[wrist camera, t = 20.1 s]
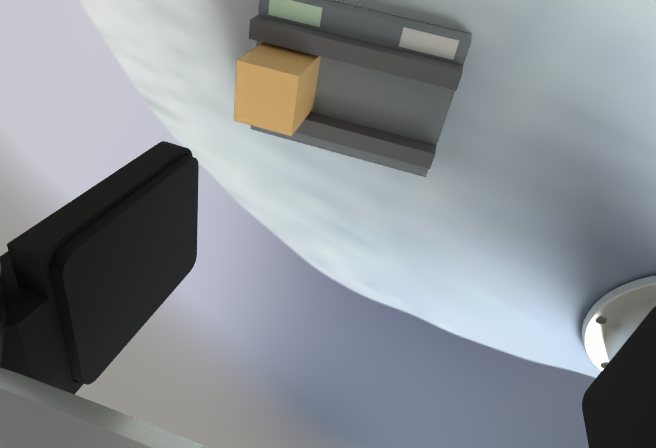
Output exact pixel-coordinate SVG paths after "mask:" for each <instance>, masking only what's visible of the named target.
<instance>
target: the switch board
mask: <svg viewBox="0 0 656 448" xmlns="http://www.w3.org/2000/svg"><path fill="white" fill-rule="evenodd" d="M249 39H253V40H257V46H258V45H260V44H261V43H263V42H265V43H269V44H273V45H277V46H281V47H285V48H289V49H293V50H297V51H301V52H305V53H309V54H313V55H317V56H320V57H321V59H320V65H319V72H318V79H317V85H316V92H315V98H314V105H313V109H312V110H311V112H310V113H309V114H308V116H307V117H306V118H305V119H304V121H303V122H302V123H301V125H300V126H299V127H298V128H297V130H296V131H295V132H294V133H293V135H292V136H289V135H285V134H281V133H278V132H274V131H270V130H267V129H263V128H259V127H256V126H252V125H251V129H253V130H256V131H260V132H264V133H267V134H271V135H274V136H278V137H282V138H285V139H289V140H293V141H296V142H300V143H304V144H307V145H311V146H315V147H318V148H322V149H325V150H329V151H333V152H336V153H340V154H344V155H347V156H351V157H355V158H358V159H362V160H365V161H369V162H373V163H376V164H380V165H384V166H387V167H391V168H395V169H398V170H402V171H405V172H409V173H413V174H416V175H420V176H424V177H426V175H427V172H428V169H430V167H431V164H432V161H433V158H434V155H435V150H436V145H437V142H438V139H439V136H440V133H441V130H442V127H443V124H444V121H445V118H446V115H447V112H448V109H449V106H450V103H451V100H452V97H453V94H454V91H456V89H457V87H458V84H459V81H460V78H461V75H462V71H463V64H464V61H465V58H466V55H467V52H468V49H469V46H470V43H471V34H470V33H465V32H461V31H457V30H453V29H448V28H444V27H440V26H436V25H432V24H427V23H423V22H419V21H415V20H411V19H406V18H402V17H398V16H394V15H389V14H385V13H381V12H377V11H373V10H368V9H364V8H360V7H356V6H352V5H347V4H343V3H339V2H335V1H331V0H260V5H259V15H258V16H256V17H254V18H252V19H251V20H250V32H249Z"/></svg>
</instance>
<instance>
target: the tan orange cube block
mask: <svg viewBox="0 0 656 448" xmlns="http://www.w3.org/2000/svg"><path fill="white" fill-rule="evenodd" d="M320 59H321V57H320V56H317V55H313V54H309V53H305V52H301V51H297V50H293V49H289V48H285V47H281V46H277V45H273V44H269V43H265V42H263V43H261V44H260V45H258V46H257V47H255V48H254V49H253V50H251V51H250V52H248V53H247V54H245V55H244V56H242V57H241V58H239V59H238V60H237V65H236V87H235V108H234V121H238V122H241V123H245V124H248V125H252V126H256V127H259V128H263V129H267V130H270V131H274V132H278V133H281V134H285V135H289V136H292V135H293V133H294V132H295V131H296V130H297V128H298V127H299V126H300V125H301V123H302V122H303V121H304V119H305V118H306V117H307V116H308V114H309V113H310V112H311V110H312V109H313V105H314V98H315V92H316V85H317V79H318V72H319V65H320Z"/></svg>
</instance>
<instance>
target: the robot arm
mask: <svg viewBox="0 0 656 448" xmlns="http://www.w3.org/2000/svg"><path fill="white" fill-rule="evenodd" d="M197 212H198V161H197V159H196V158H194V157H192V153H191V151H190V150H189V149H188V148H184V147H181V146H178V145H175V144H172V143H168V142H164V141H163V142H160V143H158V144H157V145H155V146H154V147H152V148H151V149H149V150H148V151H146V152H145V153H143V154H142V155H140V156H139V157H137V158H136V159H134V160H133V161H131V162H130V163H128V164H127V165H125V166H124V167H122V168H121V169H119V170H118V171H116V172H115V173H113V174H112V175H110V176H109V177H107V178H106V179H104V180H103V181H101V182H100V183H98V184H97V185H96V186H94V187H92V188H91V189H89V190H88V191H86V192H85V193H83V194H82V195H80V196H79V197H77V198H76V199H74V200H73V201H71V202H70V203H68V204H67V205H65V206H64V207H62V208H61V209H59V210H58V211H56V212H54V213H53V214H51V215H50V216H49V217H47V218H45V219H44V220H42V221H41V222H40V223H38V224H37V225H35V226H33V227H32V228H30V229H29V230H27V231H26V232H24V233H23V234H21V235H20V236H18V237H17V238H15V239H14V240H13V241H11V242H9V243H8V244H7V247H8V250H9V251H8V252H6V253H5V254H3V255H2V256H0V448H208V447H206V446H203V445H201V444H198V443H196V442H193V441H191V440H188V439H186V438H183V437H181V436H178V435H176V434H173V433H171V432H168V431H166V430H163V429H161V428H158V427H155V426H153V425H151V424H148V423H146V422H143V421H140V420H138V419H135V418H133V417H131V416H128V415H125V414H123V413H121V412H118V411H116V410H113V409H110V408H108V407H105V406H103V405H100V404H97V403H95V402H92V401H90V400H87V399H84V398H82V397H79V396H77V395H74V394H75V393H76V392H77V391H78V390H79V388H80V387H81V386H82V385H83V384H91V383H92V382H94V381H95V380H96V379H97V378H98V377H99V376H100V374H101V373H102V372H103V371H104V370H105V369H106V368H107V366H108V365H109V364H110V363H111V362H112V361H113V360H114V358H115V357H116V356H117V355H118V354H119V353H120V352H121V350H122V349H123V348H124V347H125V346H126V345H127V343H128V342H129V341H130V340H131V339H132V338H133V337H134V335H135V334H136V333H137V332H138V331H139V330H140V329H141V327H142V326H143V325H144V324H145V323H146V322H147V320H148V319H149V318H150V317H151V316H152V315H153V313H154V312H155V311H156V310H157V309H158V308H159V307H160V305H161V304H162V303H163V302H164V301H165V300H166V298H167V297H168V296H169V295H170V294H171V293H172V292H173V291H174V289H175V288H176V287H177V286H178V285H179V284H180V282H181V281H182V280H183V279H184V278H185V277H186V275H187V274H188V273H189V272H190V271H191V269H192V268H193V266H194V264H195V261H196V256H197V214H198V213H197ZM582 339H583V344H584V347H585V351H586V354H587V355H588V357H589V359H590V360H591V362H592V363H593V364H594V365H595V366H596V367H597V368H598V369H599V370H601V371H602V372H601V373H600V374H599V375H598V377H597V378H596V379H595V380H594V382H593V383H592V384H591V385H590V387H589V388H588V389H587V390H586V392H585V394H584V397H583V401H582V410H583V416H584V421H585V427H586V433H587V439H588V444H589V448H656V276H650V277H646V278H642V279H638V280H634V281H632V282H629V283H627V284H624V285H621V286H619V287H617V288H616V289H614V290H612V291H610V292H609V293H607V294H605V295H604V296H603V297H602V298H601V299H599V300H598V301H597V302H596V303H595V304H594V305H593V306H592V308H591V309H590V310H589V311H588V313H587V315H586V317H585V319H584V321H583V326H582Z"/></svg>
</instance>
